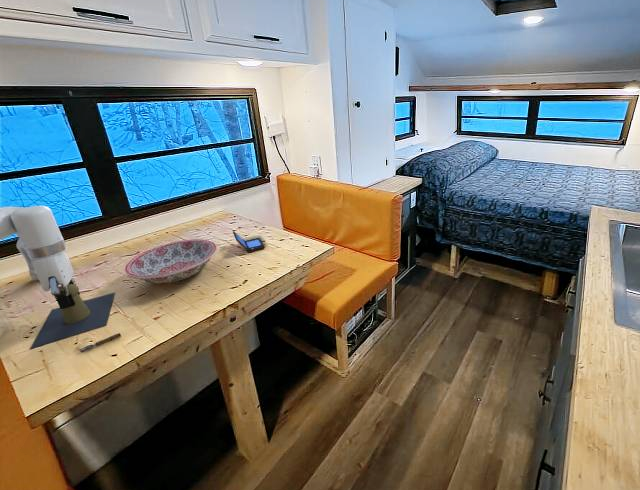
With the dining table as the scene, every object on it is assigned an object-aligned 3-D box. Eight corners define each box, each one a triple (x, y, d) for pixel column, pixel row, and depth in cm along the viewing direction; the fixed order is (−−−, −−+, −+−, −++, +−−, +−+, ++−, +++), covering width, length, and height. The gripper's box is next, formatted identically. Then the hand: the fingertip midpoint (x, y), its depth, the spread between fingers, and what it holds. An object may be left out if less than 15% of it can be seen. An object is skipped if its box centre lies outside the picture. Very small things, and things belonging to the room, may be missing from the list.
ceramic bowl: (183, 252, 135) (179, 235, 132) (236, 261, 126) (233, 243, 124) (111, 289, 109) (103, 270, 106) (171, 303, 100) (165, 283, 98)
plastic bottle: (46, 273, 120) (24, 226, 114) (62, 273, 120) (41, 226, 113) (27, 282, 114) (3, 234, 107) (44, 282, 114) (21, 234, 107)
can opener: (121, 335, 87) (120, 331, 87) (120, 339, 85) (119, 336, 85) (78, 350, 82) (77, 346, 82) (77, 355, 80) (75, 352, 80)
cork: (61, 326, 91) (47, 295, 87) (66, 315, 96) (53, 285, 92) (88, 318, 94) (75, 288, 90) (92, 308, 99) (80, 279, 95)
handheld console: (265, 249, 136) (262, 234, 133) (239, 255, 131) (236, 240, 128) (259, 239, 146) (257, 224, 143) (235, 245, 141) (232, 230, 138)
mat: (30, 349, 83) (29, 348, 83) (51, 310, 99) (51, 309, 99) (106, 325, 91) (106, 324, 91) (115, 292, 107) (115, 292, 107)
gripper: (38, 241, 92) (61, 292, 98) (16, 265, 78) (44, 322, 84) (72, 235, 95) (92, 284, 102) (56, 257, 82) (81, 312, 88)
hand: (70, 301), depth 93 cm, fingers closed on cork, 5 cm apart
